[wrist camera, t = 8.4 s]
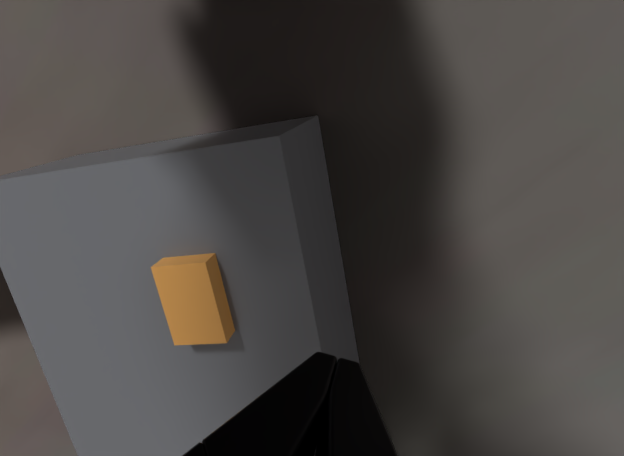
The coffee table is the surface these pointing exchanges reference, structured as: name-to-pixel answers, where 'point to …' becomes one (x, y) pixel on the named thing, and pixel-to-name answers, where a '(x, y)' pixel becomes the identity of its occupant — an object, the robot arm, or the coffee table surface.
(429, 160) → the coffee table surface
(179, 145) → the grey slab
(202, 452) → the robot arm
